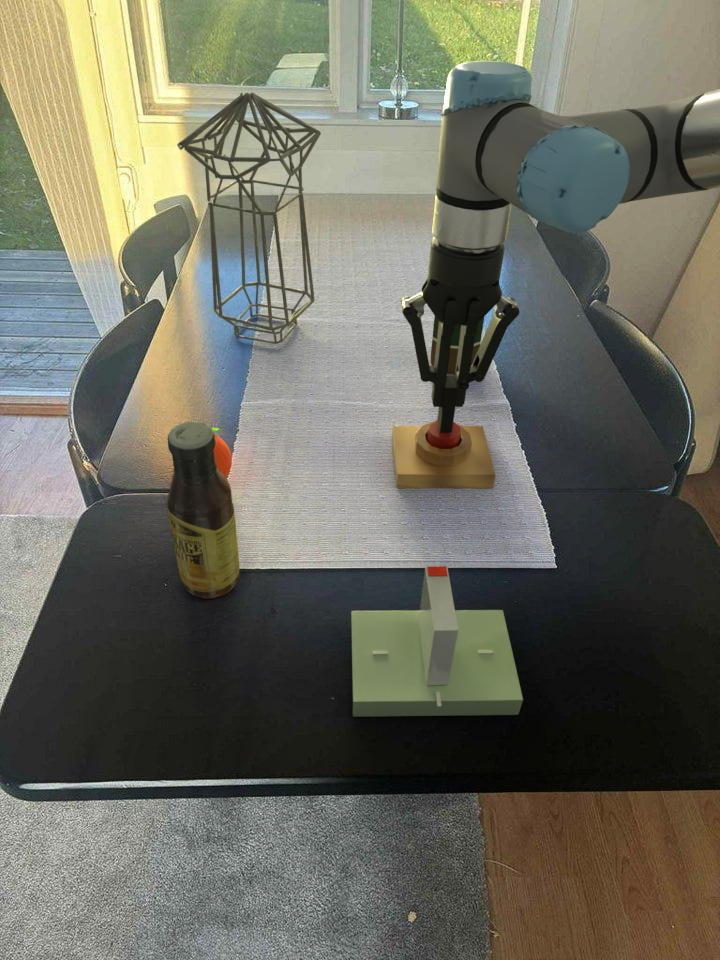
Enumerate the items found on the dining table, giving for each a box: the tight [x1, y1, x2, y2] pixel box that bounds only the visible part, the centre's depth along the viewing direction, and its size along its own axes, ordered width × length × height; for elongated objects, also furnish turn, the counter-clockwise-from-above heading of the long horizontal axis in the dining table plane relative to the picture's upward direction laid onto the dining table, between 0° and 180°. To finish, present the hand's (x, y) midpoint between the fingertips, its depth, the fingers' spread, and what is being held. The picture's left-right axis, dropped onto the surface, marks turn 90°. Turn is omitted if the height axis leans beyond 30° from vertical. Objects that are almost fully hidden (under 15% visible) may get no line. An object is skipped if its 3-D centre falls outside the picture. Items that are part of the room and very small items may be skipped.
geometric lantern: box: [176, 91, 322, 345], centre depth 103 cm, size 16×16×35 cm
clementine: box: [172, 427, 233, 478], centre depth 84 cm, size 8×7×7 cm
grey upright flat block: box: [418, 565, 458, 685], centre depth 62 cm, size 7×2×8 cm, turn 2°
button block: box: [391, 421, 496, 489], centre depth 89 cm, size 12×10×4 cm
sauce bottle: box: [165, 420, 241, 600], centre depth 68 cm, size 7×6×20 cm
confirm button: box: [427, 419, 461, 449], centre depth 87 cm, size 4×4×2 cm
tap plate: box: [350, 609, 524, 718], centre depth 66 cm, size 15×11×3 cm
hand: (444, 425), depth 86 cm, fingers closed
